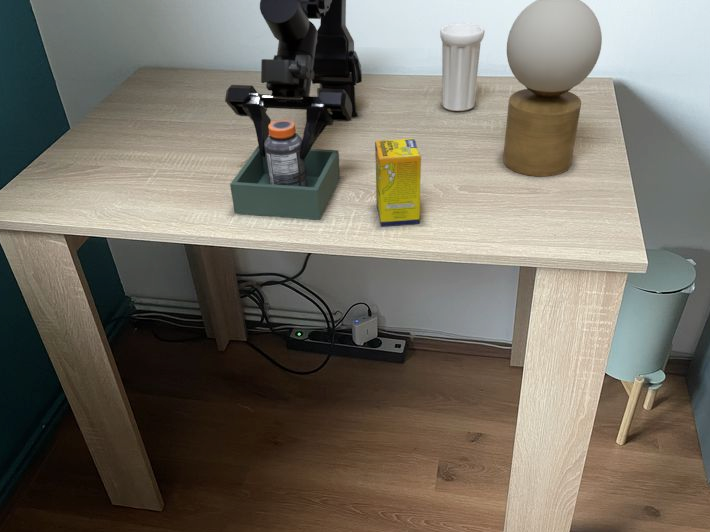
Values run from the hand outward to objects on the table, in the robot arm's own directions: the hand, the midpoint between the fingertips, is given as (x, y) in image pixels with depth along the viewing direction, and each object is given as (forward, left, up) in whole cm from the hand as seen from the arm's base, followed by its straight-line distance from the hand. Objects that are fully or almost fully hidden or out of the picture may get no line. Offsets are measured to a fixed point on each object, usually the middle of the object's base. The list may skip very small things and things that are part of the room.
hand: (282, 157), depth 110 cm
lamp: (-44, -3, -7) cm, 44 cm away
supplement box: (-16, +10, -7) cm, 20 cm away
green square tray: (-1, -1, -7) cm, 7 cm away
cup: (-38, -28, -7) cm, 47 cm away
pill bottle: (-1, -1, -7) cm, 7 cm away
